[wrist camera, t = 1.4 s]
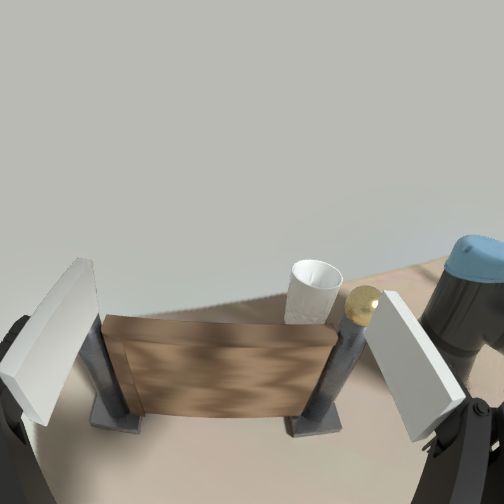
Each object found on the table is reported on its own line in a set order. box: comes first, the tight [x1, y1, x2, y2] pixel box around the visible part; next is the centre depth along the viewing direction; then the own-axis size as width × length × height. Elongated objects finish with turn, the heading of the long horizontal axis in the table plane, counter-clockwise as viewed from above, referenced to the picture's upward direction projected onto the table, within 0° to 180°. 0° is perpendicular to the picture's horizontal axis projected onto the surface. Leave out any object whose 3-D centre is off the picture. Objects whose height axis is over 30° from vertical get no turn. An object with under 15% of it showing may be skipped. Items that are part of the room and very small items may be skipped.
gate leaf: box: [101, 315, 338, 418], centre depth 27 cm, size 20×2×14 cm, turn 95°
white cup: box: [284, 260, 343, 324], centre depth 46 cm, size 8×8×10 cm
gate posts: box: [79, 285, 382, 438], centre depth 26 cm, size 30×6×20 cm, turn 95°
